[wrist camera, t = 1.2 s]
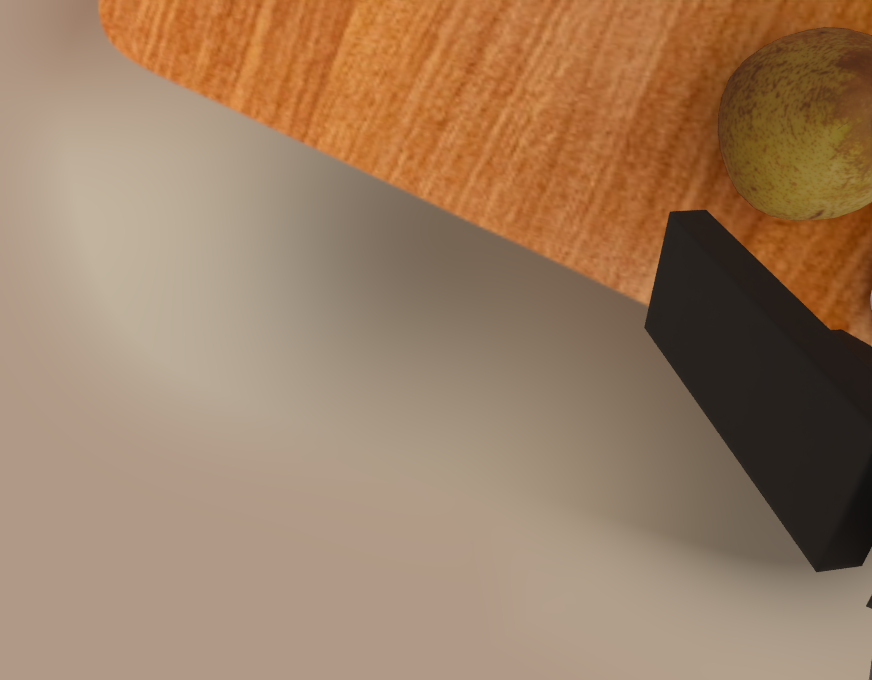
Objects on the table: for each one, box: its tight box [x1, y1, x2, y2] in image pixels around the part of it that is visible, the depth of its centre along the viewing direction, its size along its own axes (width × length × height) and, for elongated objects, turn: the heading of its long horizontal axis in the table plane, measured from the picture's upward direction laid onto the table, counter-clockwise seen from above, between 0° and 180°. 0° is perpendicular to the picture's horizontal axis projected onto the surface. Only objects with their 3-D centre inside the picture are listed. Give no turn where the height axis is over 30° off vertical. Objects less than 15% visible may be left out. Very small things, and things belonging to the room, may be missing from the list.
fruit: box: [718, 27, 872, 221], centre depth 37 cm, size 9×9×12 cm
